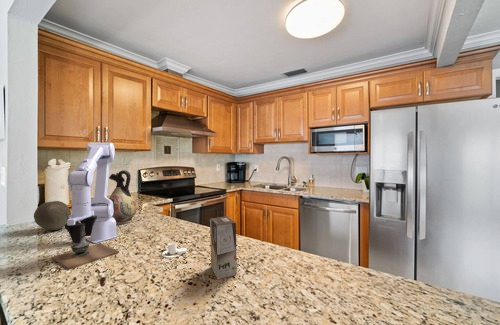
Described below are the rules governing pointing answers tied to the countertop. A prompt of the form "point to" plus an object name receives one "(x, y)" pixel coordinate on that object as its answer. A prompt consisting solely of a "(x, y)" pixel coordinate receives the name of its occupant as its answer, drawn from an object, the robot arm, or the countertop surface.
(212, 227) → the coffee box
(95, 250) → the walnut board
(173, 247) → the teacup and saucer
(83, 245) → the dark grey turned piece
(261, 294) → the countertop surface
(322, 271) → the countertop surface
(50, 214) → the grey rounded lump
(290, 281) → the countertop surface
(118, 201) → the ceramic jug
